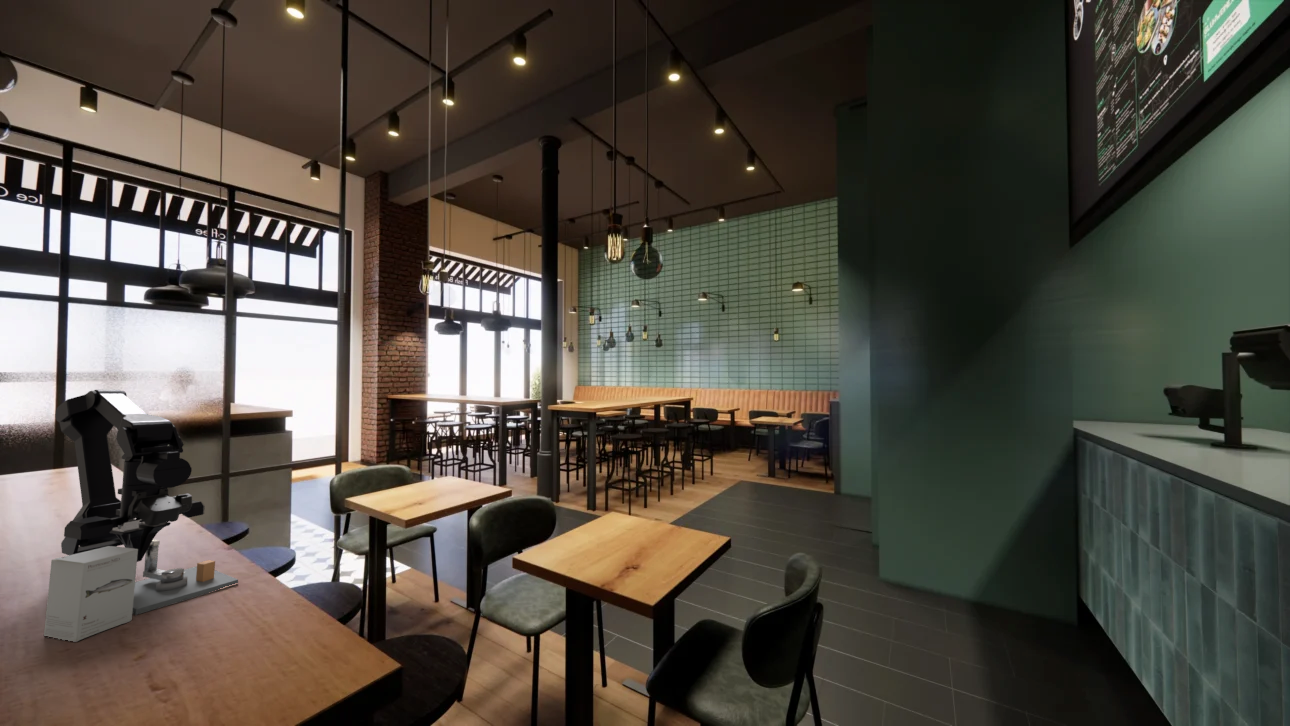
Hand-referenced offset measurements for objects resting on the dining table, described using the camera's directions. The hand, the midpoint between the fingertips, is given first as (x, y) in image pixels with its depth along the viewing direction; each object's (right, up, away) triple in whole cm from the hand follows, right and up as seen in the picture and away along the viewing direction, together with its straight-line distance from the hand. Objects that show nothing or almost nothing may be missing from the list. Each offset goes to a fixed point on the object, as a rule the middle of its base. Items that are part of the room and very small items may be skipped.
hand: (137, 561), depth 93 cm
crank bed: (+6, -6, +1) cm, 9 cm away
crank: (+4, -4, +1) cm, 5 cm away
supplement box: (+7, -6, -14) cm, 17 cm away
